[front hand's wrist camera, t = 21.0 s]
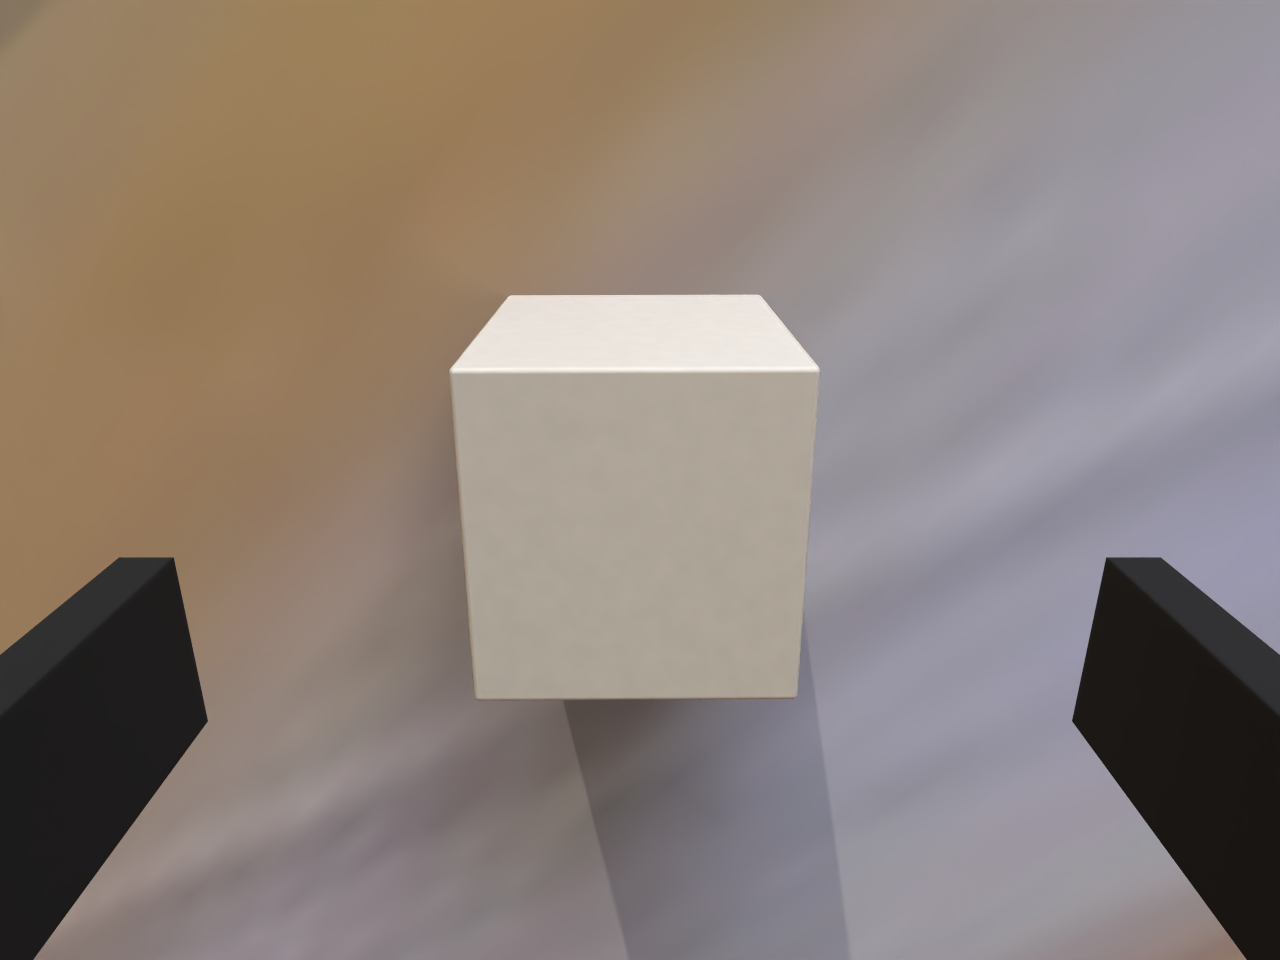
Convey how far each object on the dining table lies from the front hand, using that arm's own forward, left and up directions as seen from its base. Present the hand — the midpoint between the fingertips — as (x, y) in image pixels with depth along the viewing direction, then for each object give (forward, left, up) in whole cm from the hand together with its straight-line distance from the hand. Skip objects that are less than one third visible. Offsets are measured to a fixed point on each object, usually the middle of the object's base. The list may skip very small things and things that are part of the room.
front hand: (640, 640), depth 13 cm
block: (0, 0, -11) cm, 11 cm away
